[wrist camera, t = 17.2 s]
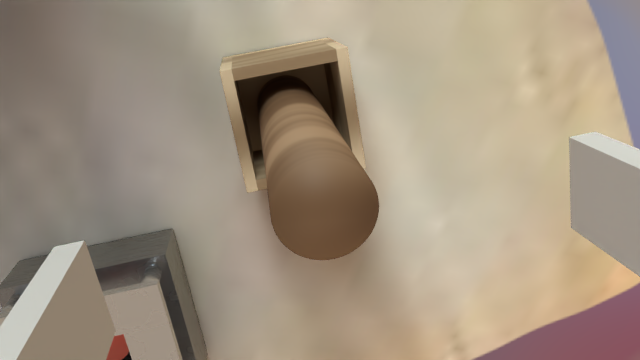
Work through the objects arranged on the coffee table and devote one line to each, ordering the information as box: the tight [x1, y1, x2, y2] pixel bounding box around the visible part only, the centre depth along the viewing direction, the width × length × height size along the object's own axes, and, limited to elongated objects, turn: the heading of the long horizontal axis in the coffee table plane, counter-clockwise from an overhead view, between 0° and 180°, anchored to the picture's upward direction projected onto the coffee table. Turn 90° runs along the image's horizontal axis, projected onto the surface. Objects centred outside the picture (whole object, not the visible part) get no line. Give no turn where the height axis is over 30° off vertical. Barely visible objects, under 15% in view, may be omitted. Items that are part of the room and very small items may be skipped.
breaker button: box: [106, 334, 129, 360], centre depth 37 cm, size 3×3×2 cm
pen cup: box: [220, 38, 366, 193], centre depth 33 cm, size 7×7×7 cm
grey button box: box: [0, 229, 208, 360], centre depth 36 cm, size 10×10×8 cm
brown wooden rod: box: [257, 75, 379, 260], centre depth 27 cm, size 4×4×18 cm
